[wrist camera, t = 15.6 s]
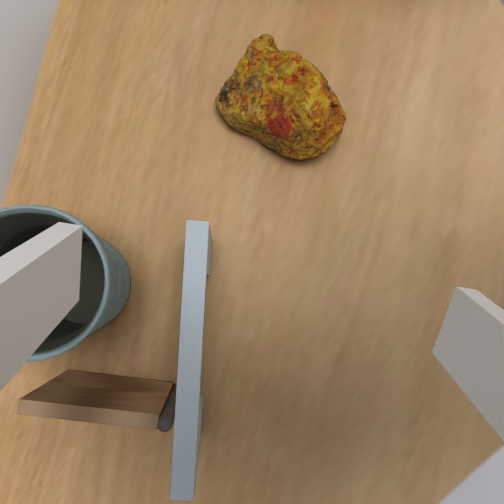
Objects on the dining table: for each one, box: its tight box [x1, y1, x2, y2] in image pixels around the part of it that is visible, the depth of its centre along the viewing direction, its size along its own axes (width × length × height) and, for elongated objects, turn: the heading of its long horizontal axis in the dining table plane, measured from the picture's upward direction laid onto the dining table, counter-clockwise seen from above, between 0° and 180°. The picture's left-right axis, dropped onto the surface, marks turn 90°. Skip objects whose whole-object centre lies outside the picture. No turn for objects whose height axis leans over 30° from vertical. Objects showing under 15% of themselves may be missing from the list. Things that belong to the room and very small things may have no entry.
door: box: [16, 370, 177, 432], centre depth 32 cm, size 10×2×9 cm, turn 82°
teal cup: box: [0, 205, 131, 362], centre depth 32 cm, size 10×10×12 cm
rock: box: [216, 34, 346, 160], centre depth 38 cm, size 11×8×10 cm
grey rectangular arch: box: [170, 220, 212, 500], centre depth 32 cm, size 18×2×12 cm, turn 177°
